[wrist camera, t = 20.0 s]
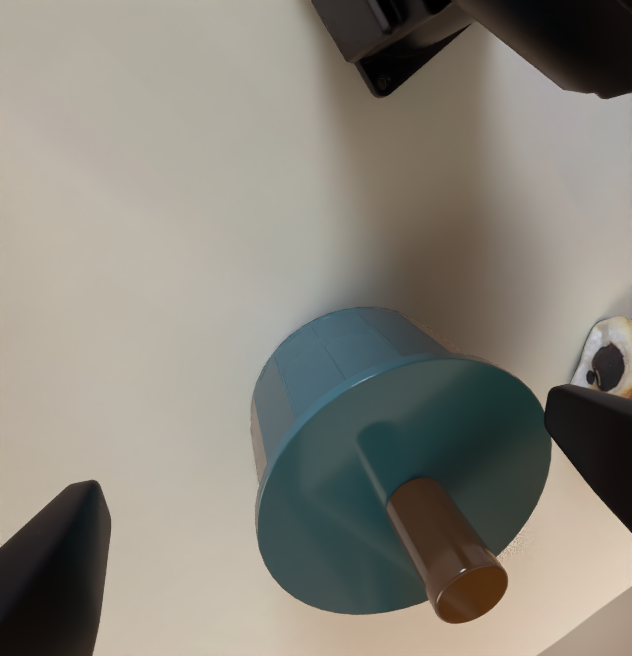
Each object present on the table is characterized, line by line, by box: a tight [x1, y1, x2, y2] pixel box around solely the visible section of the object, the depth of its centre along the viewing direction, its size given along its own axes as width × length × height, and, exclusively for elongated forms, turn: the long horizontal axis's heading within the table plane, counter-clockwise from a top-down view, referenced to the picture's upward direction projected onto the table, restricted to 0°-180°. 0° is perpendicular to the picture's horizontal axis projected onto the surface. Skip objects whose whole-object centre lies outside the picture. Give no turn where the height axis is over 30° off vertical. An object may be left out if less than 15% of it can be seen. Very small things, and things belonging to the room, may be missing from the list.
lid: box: [255, 352, 552, 624], centre depth 15 cm, size 13×13×5 cm
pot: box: [250, 307, 464, 484], centre depth 20 cm, size 12×12×7 cm
